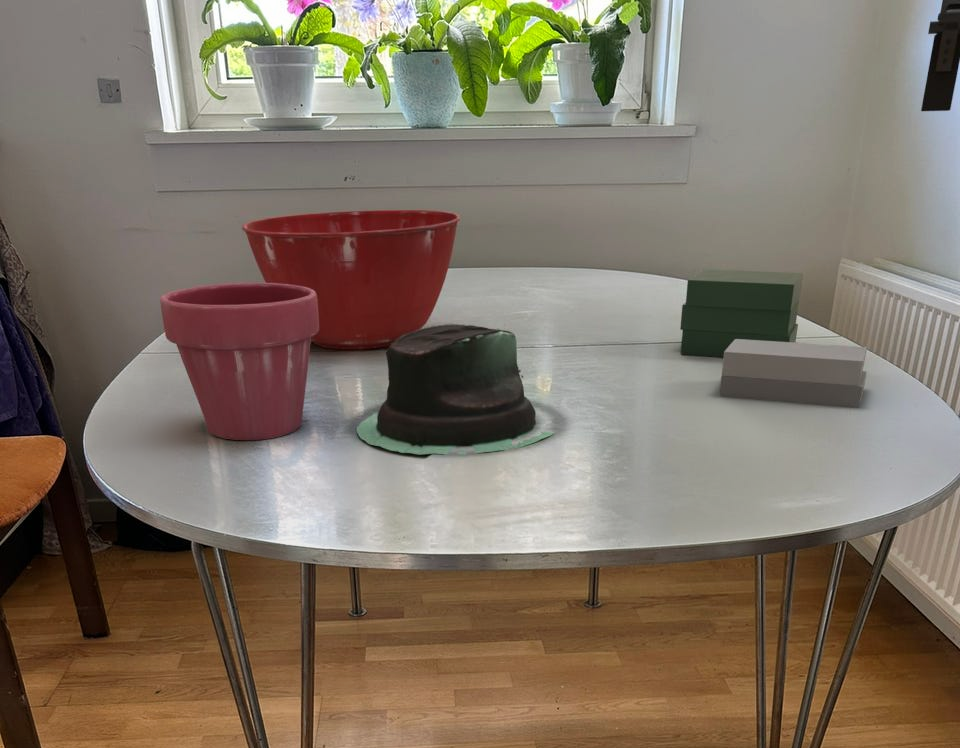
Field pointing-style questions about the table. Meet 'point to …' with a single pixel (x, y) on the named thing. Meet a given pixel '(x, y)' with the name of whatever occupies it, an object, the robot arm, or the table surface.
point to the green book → (744, 289)
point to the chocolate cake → (452, 393)
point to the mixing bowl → (360, 268)
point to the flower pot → (245, 353)
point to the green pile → (733, 328)
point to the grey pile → (794, 372)
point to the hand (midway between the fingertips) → (935, 111)
